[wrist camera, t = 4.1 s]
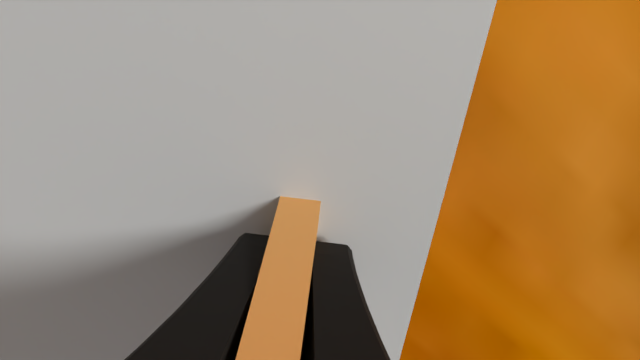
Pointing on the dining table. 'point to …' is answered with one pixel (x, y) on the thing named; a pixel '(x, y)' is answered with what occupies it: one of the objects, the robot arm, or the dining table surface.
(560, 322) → the dining table surface
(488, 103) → the dining table surface
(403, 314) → the carton lid
